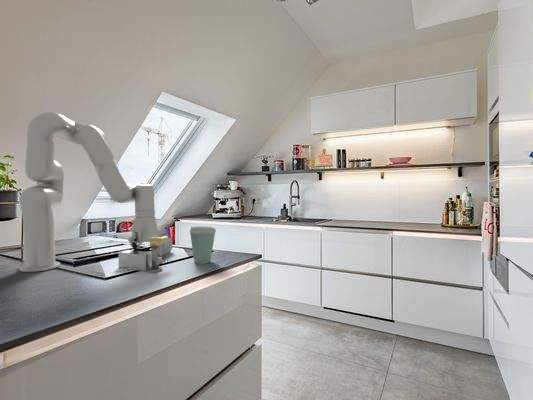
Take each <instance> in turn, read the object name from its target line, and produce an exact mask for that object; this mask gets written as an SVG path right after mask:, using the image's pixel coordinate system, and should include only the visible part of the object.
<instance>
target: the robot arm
mask: <svg viewBox="0 0 533 400" xmlns="http://www.w3.org/2000/svg"><path fill="white" fill-rule="evenodd" d="M54 137H56V138H59V139H62V140H65V141H67V142H71V143H74V144H76V145H80V146H81V147H82V148H83V150H84V152H85V153H86V155H87V157H88V158H89V160H90V162H91V163H92V165H93V166H94V168H95V172H96V174H97V176H98V178H99V181H100V182H101V184H102V186H103V187H104V189H105V191H106V192H107V194H108V195H109V197H110V199H112V200H113V201H114V202H115V203H118V204H126V203H130V202H134V216H135V217H134V218H133V220H132V226H131V228H132V229H131V236H130V237H129V238H127V241H128V243H129V245H130V246H131V247H132V249H133V251H142V248H140V247H141V245H142V243H147V242H150V240H149V237H162V232H161V231H159V230H158V223H157V219H156V215H155V214H156V210H155V188H154V186H153V185H152V184H150V183H149V184H148V183H147V184H141V183H140V184H127V182H126V181H125V179H124V178H123V176H122V174H121V173H120V170H119V168H118V163H117V162H118V161H117V158H116V155H115V154H114V152H113V151H112V149H111V147H110V146H109V144H108V142H107V137H106V134H105V133H104V132H103V131H102V130H101V129H100V128H98V127H96V126H94V125H91V124H82V123H79V122H77V121H74V120H71V119H69V118H67V116H65V115H62V114H61V113H59V112H55V111H54V112H53V111H45V112H42V113H39V114H37V115H35V116H33V117H32V119H31V121H29V124H28V126H27V129H26V150H25V168H24V170H25V171H24V173H25V175H26V177H27V178H28V179H29V181H33V182H36V185H33V186H29V187H27V188H25V189H24V190H23V191H22V192H21V194H20V197H19V206H20V210H21V214H22V225H23V226H22V227H23V254H24V255H23V258H22V260H21V261H23V262H24V264H23V265H20V266H19V268H18V269H19V271H20V272H23V273H35V272H42V271H43V272H44V271H49V270H52V269H56V268H58V267H60V266H61V262H60V261H57V260H56V244H55V243H56V237H55V235H56V234H55V217H54V213H53V209H56V208H57V207H59V206H60V204H61V203H62V201H63V196H64V177H65V175H64V173H65V172H64V170H63V166H62V164H60V163H59V162H57V161H56V160H55V157H54V156H55V145H54V144H55V143H54ZM150 250H151V251H150V252H151V253H152V246H150Z"/></svg>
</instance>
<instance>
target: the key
mask: <svg viewBox="0 0 533 400" xmlns="http://www.w3.org/2000/svg"><path fill="white" fill-rule="evenodd" d="M163 236H164V237H163ZM163 236H161V237H149V240H150V241H149V246H150V247H151V246H160V244H163V243H165V242H168V236H169V235H168V236H167V235H163Z"/></svg>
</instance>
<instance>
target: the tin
mask: <svg viewBox="0 0 533 400" xmlns="http://www.w3.org/2000/svg"><path fill="white" fill-rule="evenodd" d="M164 236H165V235H163V236H162V237H164ZM158 248H159V257H162V258H163V257H164V256H166V255H169V254H170V253H171V252H172V249H173V238H172V236H169V235H168V242H165V243H163V244H160V246H158Z"/></svg>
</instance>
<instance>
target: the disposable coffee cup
mask: <svg viewBox="0 0 533 400" xmlns="http://www.w3.org/2000/svg"><path fill="white" fill-rule="evenodd" d="M216 230H217V229H216V228H215V227H214V226H204V225H203V226H190V229H189V233H190V242H191V249H192V256H193V261H194V263H195V264H199V265H200V264H201V265H202V264H203V265H205V264H208V263H210V262H211V261H212V255H213V249H214V242H215V235H216V232H217V231H216Z"/></svg>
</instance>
